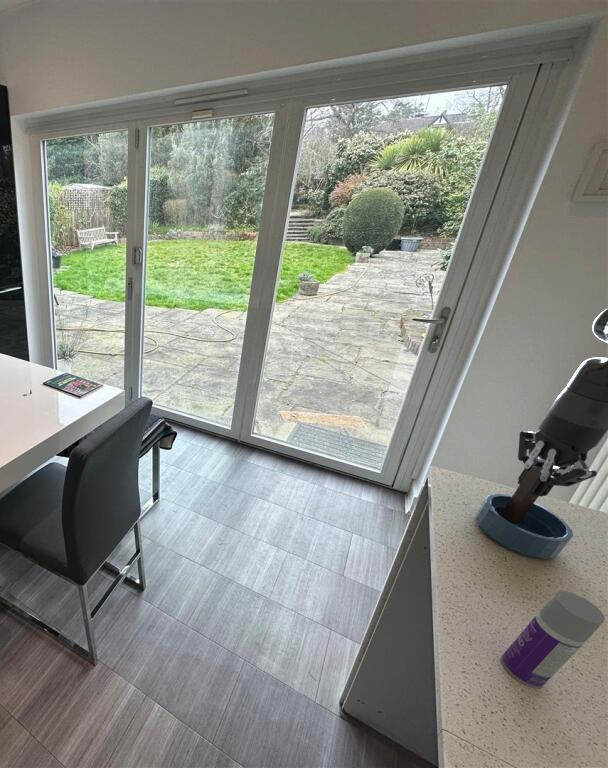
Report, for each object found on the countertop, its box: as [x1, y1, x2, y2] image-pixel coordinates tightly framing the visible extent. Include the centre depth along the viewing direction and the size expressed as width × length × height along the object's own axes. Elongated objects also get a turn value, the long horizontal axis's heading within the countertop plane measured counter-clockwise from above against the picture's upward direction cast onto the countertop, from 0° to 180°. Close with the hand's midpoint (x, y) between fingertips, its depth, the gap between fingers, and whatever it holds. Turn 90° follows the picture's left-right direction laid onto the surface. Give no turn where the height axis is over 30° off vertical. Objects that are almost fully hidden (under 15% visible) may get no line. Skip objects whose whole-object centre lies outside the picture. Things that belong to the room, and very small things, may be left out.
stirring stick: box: [500, 466, 553, 524], centre depth 81 cm, size 2×2×13 cm
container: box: [500, 590, 606, 689], centre depth 57 cm, size 5×5×15 cm
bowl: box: [475, 492, 574, 560], centre depth 82 cm, size 13×13×6 cm
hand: (529, 489), depth 81 cm, fingers closed on stirring stick, 2 cm apart
